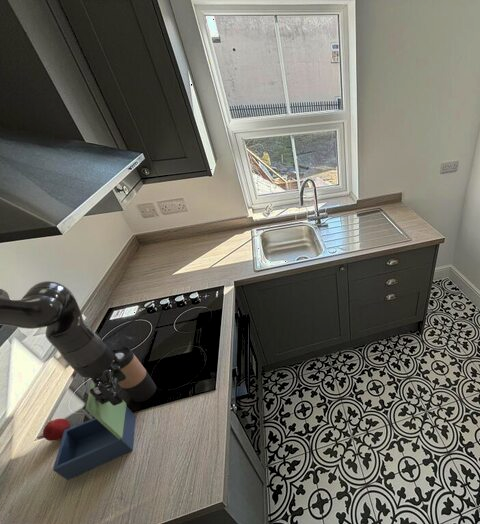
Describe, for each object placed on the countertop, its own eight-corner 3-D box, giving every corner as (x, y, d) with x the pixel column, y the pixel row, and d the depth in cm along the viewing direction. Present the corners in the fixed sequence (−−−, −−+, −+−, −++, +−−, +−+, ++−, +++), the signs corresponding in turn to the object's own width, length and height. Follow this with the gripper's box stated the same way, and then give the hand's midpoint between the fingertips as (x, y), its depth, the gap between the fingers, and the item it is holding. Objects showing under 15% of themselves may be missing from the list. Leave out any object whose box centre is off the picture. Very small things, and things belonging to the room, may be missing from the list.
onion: (66, 445, 88) (49, 432, 84) (47, 445, 88) (29, 432, 84) (80, 425, 93) (65, 412, 89) (62, 426, 93) (46, 412, 89)
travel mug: (141, 406, 97) (111, 370, 86) (127, 398, 100) (96, 361, 89) (162, 387, 103) (135, 350, 92) (148, 379, 106) (120, 343, 94)
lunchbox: (68, 480, 81) (52, 470, 77) (77, 441, 89) (64, 430, 85) (132, 450, 86) (121, 439, 82) (135, 416, 95) (125, 404, 91)
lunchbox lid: (85, 409, 72) (109, 399, 74) (93, 373, 81) (115, 365, 83) (119, 439, 82) (139, 430, 84) (123, 404, 91) (142, 396, 92)
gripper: (75, 339, 76) (108, 377, 85) (60, 383, 65) (99, 420, 75) (109, 328, 78) (137, 366, 88) (100, 368, 68) (133, 406, 77)
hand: (120, 391), depth 81 cm, fingers open, 7 cm apart
